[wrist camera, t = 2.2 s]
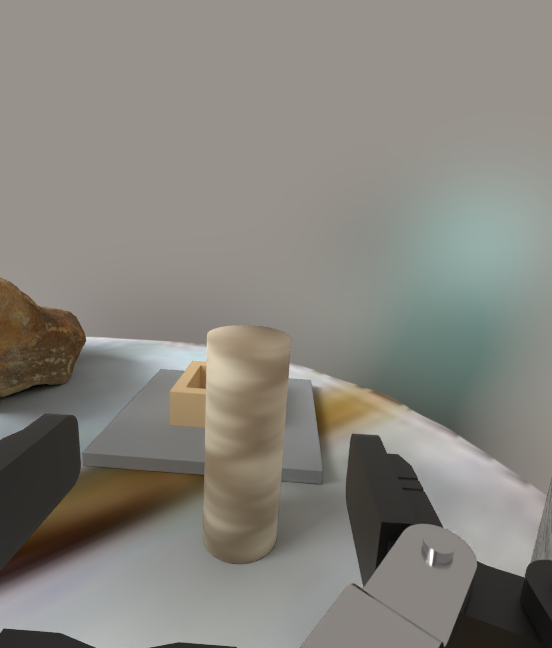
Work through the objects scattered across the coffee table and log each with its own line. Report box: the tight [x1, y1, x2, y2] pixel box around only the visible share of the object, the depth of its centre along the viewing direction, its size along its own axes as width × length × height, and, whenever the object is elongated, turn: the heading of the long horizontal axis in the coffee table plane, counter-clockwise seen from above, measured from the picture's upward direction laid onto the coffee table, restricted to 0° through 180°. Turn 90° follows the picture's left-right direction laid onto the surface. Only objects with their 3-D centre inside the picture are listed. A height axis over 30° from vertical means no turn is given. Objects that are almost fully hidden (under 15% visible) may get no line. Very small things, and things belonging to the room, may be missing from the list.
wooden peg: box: [203, 325, 291, 564], centre depth 25 cm, size 5×5×14 cm
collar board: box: [83, 361, 323, 484], centre depth 42 cm, size 20×20×5 cm
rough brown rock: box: [0, 278, 86, 397], centre depth 46 cm, size 23×17×15 cm
